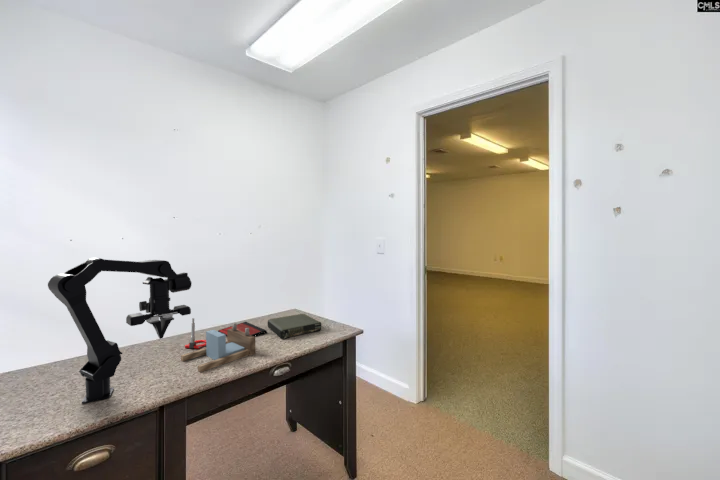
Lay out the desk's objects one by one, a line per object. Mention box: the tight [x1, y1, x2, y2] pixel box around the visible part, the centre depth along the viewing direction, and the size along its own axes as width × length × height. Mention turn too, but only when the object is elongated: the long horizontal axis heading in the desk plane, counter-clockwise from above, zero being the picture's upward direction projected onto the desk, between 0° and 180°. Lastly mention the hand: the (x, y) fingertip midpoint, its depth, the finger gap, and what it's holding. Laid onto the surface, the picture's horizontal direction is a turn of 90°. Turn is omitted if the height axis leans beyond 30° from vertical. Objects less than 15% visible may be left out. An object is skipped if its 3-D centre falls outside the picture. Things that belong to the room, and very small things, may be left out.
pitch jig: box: [180, 322, 256, 373], centre depth 123 cm, size 22×18×10 cm
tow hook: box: [184, 317, 206, 350], centre depth 135 cm, size 8×13×9 cm
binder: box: [217, 321, 268, 338], centre depth 152 cm, size 16×2×21 cm
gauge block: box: [205, 329, 245, 361], centre depth 125 cm, size 11×10×10 cm
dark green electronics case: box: [267, 313, 322, 340], centre depth 156 cm, size 23×24×5 cm
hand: (160, 338), depth 110 cm, fingers closed
